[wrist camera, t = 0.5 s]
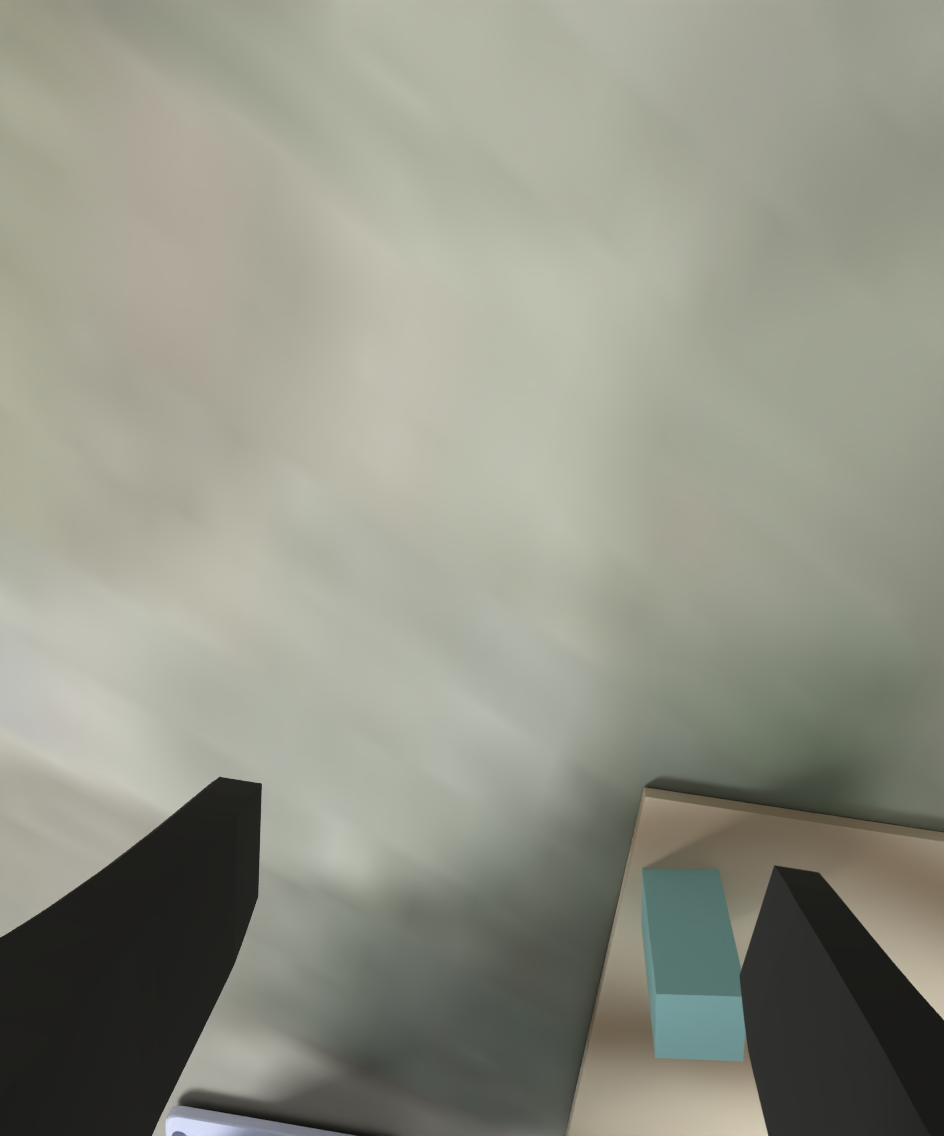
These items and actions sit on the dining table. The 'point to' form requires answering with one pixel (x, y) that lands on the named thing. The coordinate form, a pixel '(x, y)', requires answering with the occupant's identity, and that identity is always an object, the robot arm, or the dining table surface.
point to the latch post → (691, 966)
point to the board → (742, 948)
